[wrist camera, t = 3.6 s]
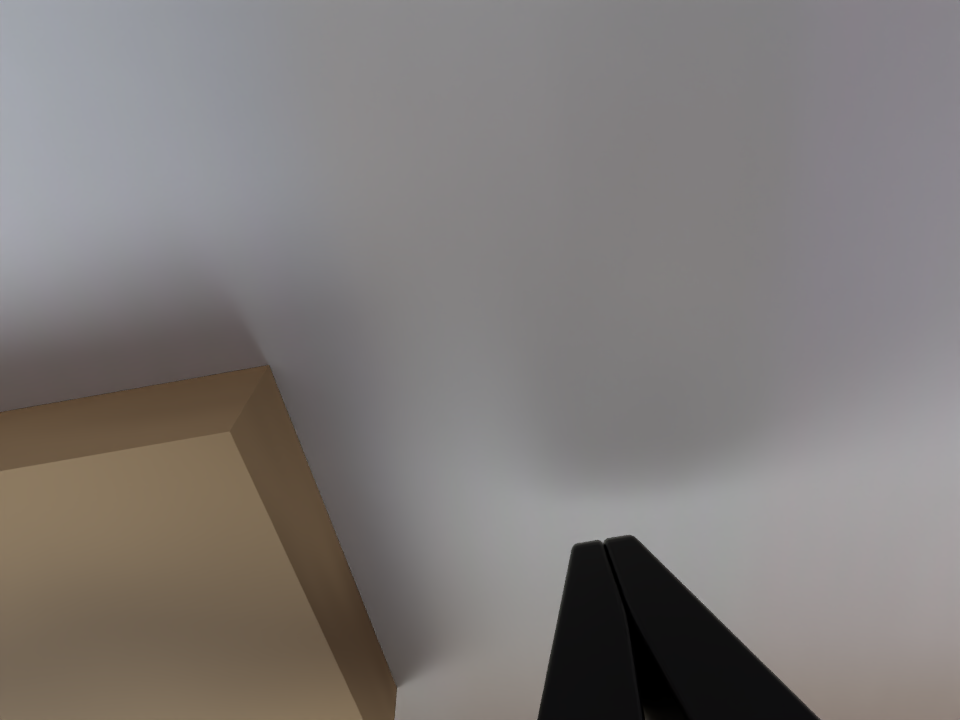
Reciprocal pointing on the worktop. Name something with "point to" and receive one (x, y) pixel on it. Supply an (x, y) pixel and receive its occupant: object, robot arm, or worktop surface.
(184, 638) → the board
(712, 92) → the worktop surface
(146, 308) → the worktop surface
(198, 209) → the worktop surface
